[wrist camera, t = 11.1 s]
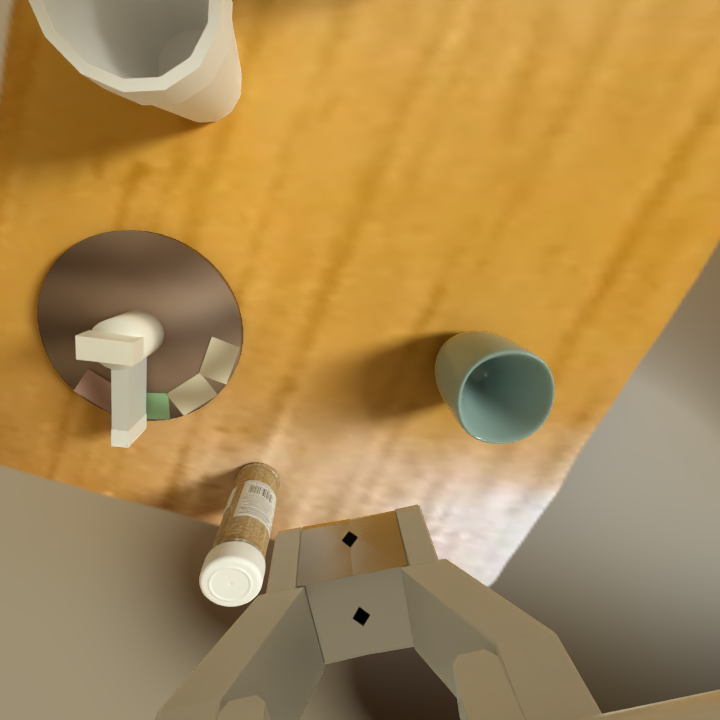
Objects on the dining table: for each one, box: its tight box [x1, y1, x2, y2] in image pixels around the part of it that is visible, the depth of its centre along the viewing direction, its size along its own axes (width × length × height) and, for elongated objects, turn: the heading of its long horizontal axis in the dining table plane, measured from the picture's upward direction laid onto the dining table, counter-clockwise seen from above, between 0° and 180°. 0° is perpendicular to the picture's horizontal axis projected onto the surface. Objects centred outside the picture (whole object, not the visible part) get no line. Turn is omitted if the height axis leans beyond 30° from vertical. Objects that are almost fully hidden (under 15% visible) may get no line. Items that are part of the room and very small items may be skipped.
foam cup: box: [28, 0, 242, 123], centre depth 27 cm, size 10×9×13 cm
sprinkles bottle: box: [199, 463, 280, 606], centre depth 37 cm, size 5×5×14 cm
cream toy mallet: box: [75, 310, 164, 448], centre depth 35 cm, size 11×4×6 cm, turn 171°
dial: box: [38, 230, 243, 421], centre depth 37 cm, size 17×17×1 cm
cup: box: [435, 331, 555, 444], centre depth 36 cm, size 8×8×10 cm
